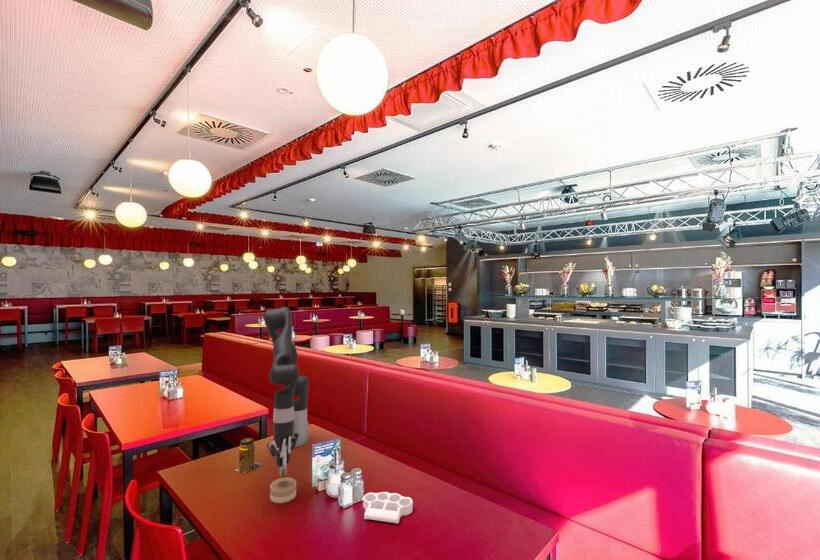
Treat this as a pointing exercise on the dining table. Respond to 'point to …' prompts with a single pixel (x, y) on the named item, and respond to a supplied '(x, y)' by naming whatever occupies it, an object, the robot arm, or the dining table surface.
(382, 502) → the white compartment tray
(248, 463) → the condiment
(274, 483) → the bead
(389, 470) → the dining table surface
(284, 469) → the white rod
